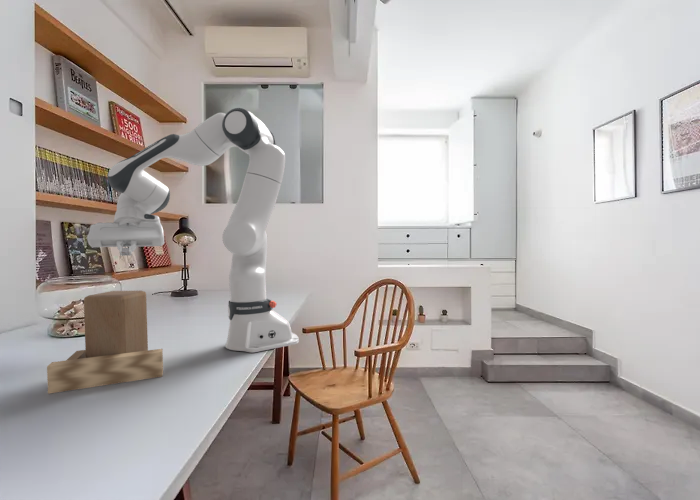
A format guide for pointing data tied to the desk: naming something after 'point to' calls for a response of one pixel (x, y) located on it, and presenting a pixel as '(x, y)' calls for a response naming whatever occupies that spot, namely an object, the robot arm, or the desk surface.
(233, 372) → the desk surface
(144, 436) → the desk surface
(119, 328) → the block
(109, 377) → the tan wooden slab
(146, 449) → the desk surface
